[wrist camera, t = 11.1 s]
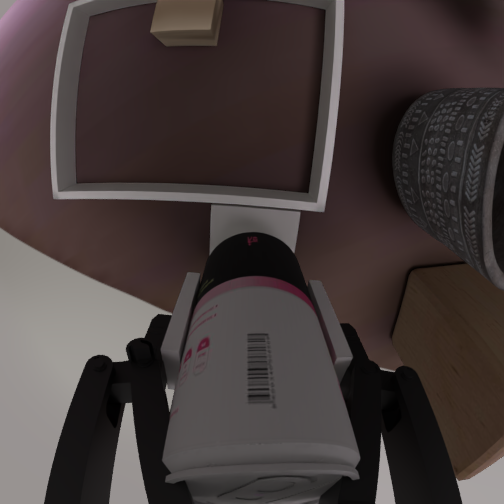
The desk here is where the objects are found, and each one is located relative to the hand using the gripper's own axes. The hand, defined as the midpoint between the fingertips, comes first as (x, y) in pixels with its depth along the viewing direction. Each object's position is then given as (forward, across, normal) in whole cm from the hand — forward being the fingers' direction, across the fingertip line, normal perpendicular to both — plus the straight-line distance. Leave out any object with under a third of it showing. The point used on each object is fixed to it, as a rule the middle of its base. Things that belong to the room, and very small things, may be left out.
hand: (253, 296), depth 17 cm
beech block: (+7, -6, +18) cm, 21 cm away
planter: (+7, +15, +10) cm, 20 cm away
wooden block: (+7, +21, -5) cm, 23 cm away
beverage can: (+3, 0, 0) cm, 3 cm away
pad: (+7, 0, 0) cm, 7 cm away
